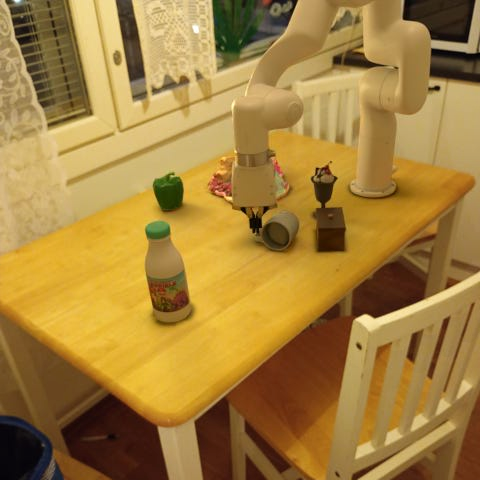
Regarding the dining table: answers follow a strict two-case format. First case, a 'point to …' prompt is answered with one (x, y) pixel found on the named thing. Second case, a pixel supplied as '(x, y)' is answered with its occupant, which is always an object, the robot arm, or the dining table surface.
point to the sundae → (323, 184)
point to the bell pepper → (168, 191)
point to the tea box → (330, 229)
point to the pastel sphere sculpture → (224, 180)
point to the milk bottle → (166, 275)
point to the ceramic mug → (279, 230)
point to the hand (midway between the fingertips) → (256, 230)
